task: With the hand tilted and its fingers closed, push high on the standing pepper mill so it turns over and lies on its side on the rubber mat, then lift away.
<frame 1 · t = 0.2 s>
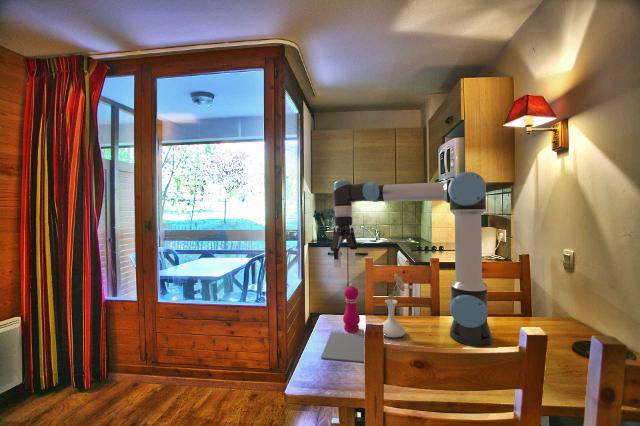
hand: (345, 265, 130), 28 cm above the table, tool pointing down, fingers open, 13 cm apart
pepper mill: (351, 330, 131), on the table
mat: (347, 346, 114), on the table
flower in vase: (392, 334, 126), on the table
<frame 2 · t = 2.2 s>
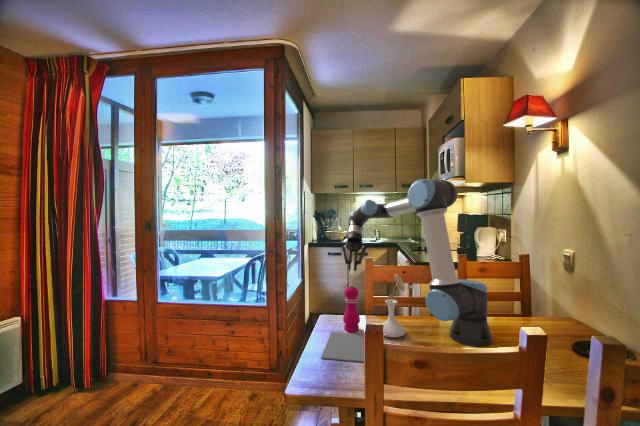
hand: (351, 276, 139), 21 cm above the table, tool tilted 45°, fingers closed
nothing on the table moved.
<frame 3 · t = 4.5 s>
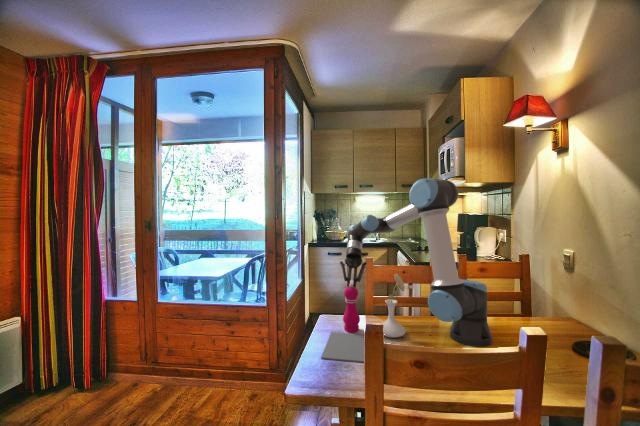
hand: (351, 294, 134), 14 cm above the table, tool tilted 45°, fingers closed
pepper mill: (351, 329, 131), on the table, touching gripper
everything else where it was.
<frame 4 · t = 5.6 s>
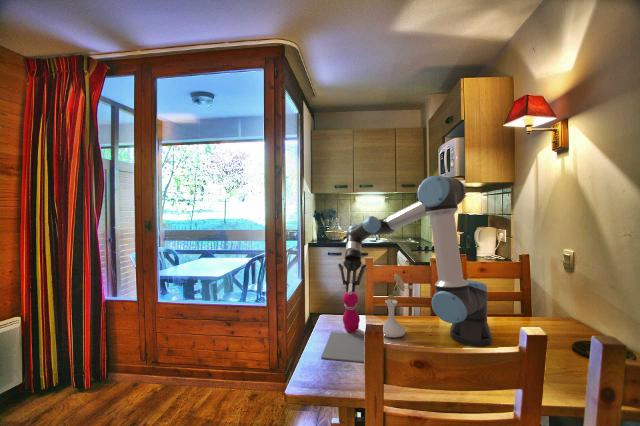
hand: (349, 298, 128), 14 cm above the table, tool tilted 45°, fingers closed
pepper mill: (351, 326, 130), point 1 cm above the table
everything else where it was.
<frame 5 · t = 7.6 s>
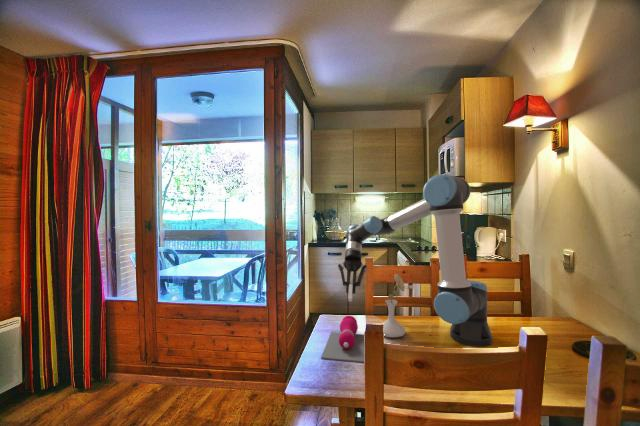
hand: (350, 299, 124), 15 cm above the table, tool tilted 45°, fingers closed
pepper mill: (349, 322, 127), point 4 cm above the table, touching mat
everything else where it was.
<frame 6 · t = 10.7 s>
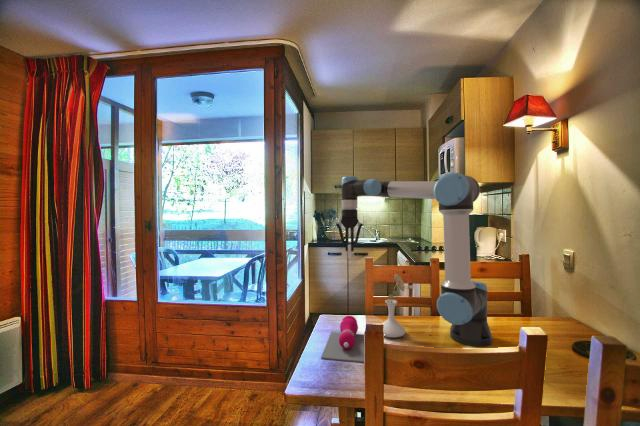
hand: (349, 258, 146), 28 cm above the table, tool pointing down, fingers closed
nothing on the table moved.
at the end: pepper mill tilted 93°; pepper mill touching mat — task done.
